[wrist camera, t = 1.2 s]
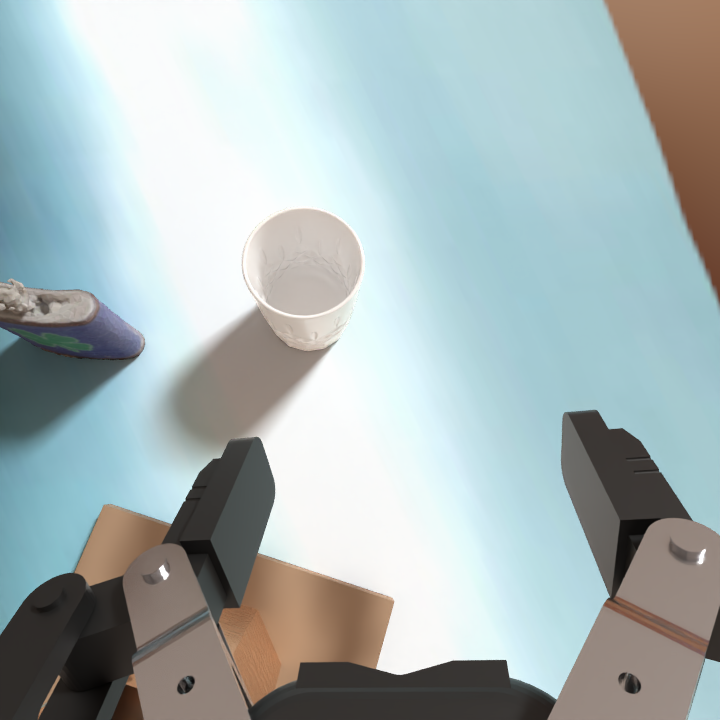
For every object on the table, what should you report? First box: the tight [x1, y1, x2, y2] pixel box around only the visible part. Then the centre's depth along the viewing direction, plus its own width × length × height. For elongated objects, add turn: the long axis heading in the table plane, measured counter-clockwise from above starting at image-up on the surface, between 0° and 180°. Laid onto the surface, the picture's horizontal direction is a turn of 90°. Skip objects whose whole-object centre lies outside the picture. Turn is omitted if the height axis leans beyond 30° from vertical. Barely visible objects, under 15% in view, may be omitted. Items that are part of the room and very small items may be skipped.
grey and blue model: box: [0, 279, 145, 360], centre depth 35 cm, size 9×3×11 cm, turn 83°
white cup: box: [242, 207, 365, 351], centre depth 37 cm, size 8×8×10 cm
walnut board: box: [42, 504, 394, 706], centre depth 34 cm, size 22×16×1 cm
